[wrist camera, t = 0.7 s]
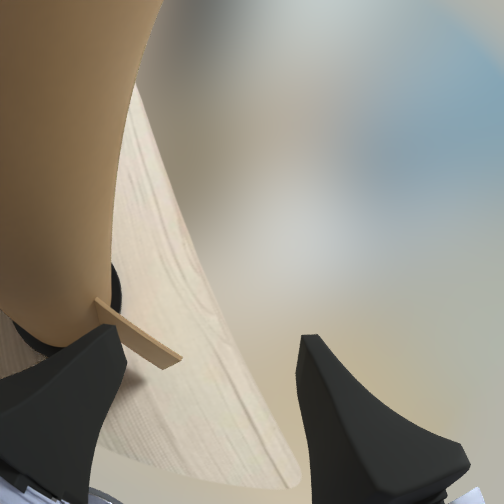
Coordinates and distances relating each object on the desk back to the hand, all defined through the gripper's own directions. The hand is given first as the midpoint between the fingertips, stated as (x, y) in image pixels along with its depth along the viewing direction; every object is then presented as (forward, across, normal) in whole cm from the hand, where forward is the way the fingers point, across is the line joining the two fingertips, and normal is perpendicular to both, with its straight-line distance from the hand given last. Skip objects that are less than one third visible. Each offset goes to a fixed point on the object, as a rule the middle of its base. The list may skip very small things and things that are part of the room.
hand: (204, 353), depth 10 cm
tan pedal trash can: (+9, +13, +5) cm, 17 cm away
